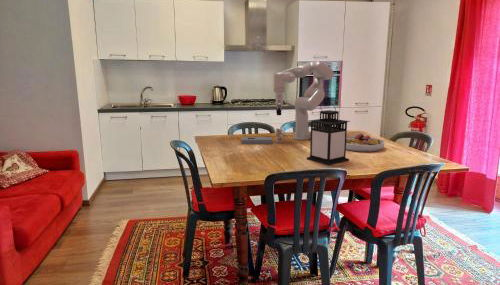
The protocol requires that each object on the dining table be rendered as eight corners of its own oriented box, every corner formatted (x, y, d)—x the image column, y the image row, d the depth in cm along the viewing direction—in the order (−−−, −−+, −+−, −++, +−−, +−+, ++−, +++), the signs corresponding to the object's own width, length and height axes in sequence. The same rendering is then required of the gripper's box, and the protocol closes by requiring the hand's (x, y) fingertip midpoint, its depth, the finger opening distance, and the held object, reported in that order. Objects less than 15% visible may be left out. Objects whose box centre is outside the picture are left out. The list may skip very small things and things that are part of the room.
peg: (281, 142, 268) (281, 128, 266) (281, 143, 264) (282, 129, 262) (275, 142, 268) (276, 128, 266) (276, 143, 264) (276, 129, 262)
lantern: (348, 160, 213) (351, 100, 206) (328, 165, 203) (331, 102, 196) (326, 155, 227) (328, 98, 220) (306, 159, 217) (308, 100, 210)
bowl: (387, 153, 230) (388, 141, 229) (338, 152, 236) (339, 140, 235) (380, 144, 259) (381, 133, 257) (337, 142, 265) (337, 132, 263)
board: (271, 141, 271) (271, 137, 271) (272, 144, 261) (272, 139, 260) (242, 141, 272) (242, 137, 271) (241, 144, 261) (241, 139, 261)
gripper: (285, 91, 250) (284, 115, 253) (283, 89, 267) (283, 113, 270) (274, 91, 250) (273, 115, 254) (273, 89, 267) (273, 112, 270)
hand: (278, 114), depth 262 cm, fingers open, 9 cm apart
